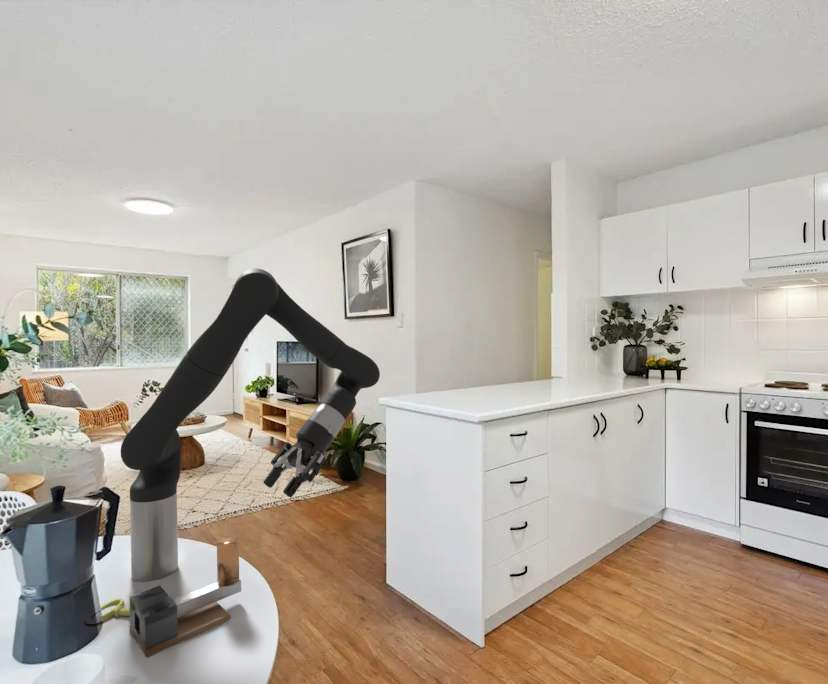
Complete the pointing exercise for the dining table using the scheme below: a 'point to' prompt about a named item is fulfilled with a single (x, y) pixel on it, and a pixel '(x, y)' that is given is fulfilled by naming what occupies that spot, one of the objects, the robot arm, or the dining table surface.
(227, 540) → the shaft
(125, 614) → the key
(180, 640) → the base board
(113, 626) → the dining table surface
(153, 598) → the block
